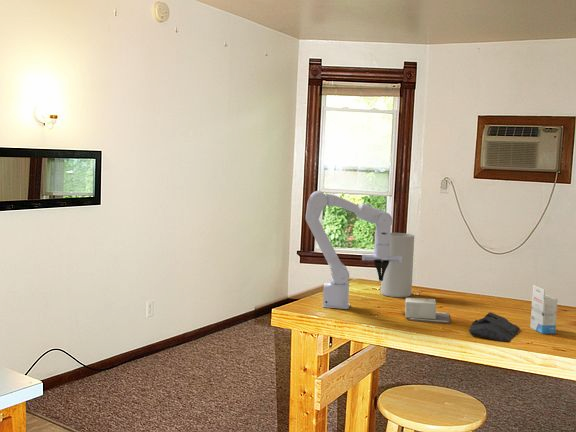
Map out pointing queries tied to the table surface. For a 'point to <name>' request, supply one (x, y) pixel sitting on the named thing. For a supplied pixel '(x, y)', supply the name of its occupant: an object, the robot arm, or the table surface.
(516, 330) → the crumpled dark cloth
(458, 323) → the table surface
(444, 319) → the mat
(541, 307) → the ink box
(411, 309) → the small box
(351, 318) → the table surface
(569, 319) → the table surface
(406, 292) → the cylinder vase
